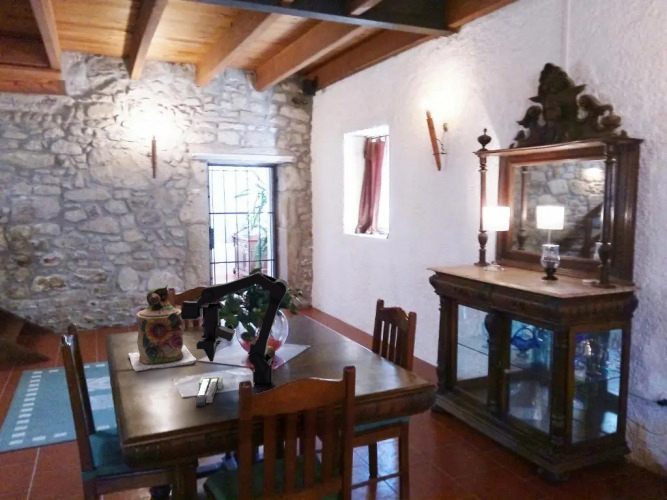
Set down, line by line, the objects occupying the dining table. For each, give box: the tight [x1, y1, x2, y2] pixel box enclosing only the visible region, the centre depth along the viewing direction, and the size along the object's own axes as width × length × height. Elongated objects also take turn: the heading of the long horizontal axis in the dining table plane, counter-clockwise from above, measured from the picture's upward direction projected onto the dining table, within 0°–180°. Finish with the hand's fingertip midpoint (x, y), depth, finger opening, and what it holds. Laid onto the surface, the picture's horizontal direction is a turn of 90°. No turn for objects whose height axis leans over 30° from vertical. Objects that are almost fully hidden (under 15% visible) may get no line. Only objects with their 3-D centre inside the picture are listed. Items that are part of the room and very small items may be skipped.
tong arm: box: [195, 379, 210, 407], centre depth 183 cm, size 3×20×3 cm, turn 7°
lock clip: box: [198, 375, 224, 391], centre depth 192 cm, size 8×6×2 cm
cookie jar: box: [128, 283, 197, 372], centre depth 222 cm, size 25×25×32 cm
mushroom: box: [267, 345, 276, 359], centre depth 225 cm, size 8×8×6 cm
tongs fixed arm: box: [205, 379, 218, 404], centre depth 185 cm, size 2×16×2 cm, turn 6°
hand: (211, 361), depth 196 cm, fingers closed
